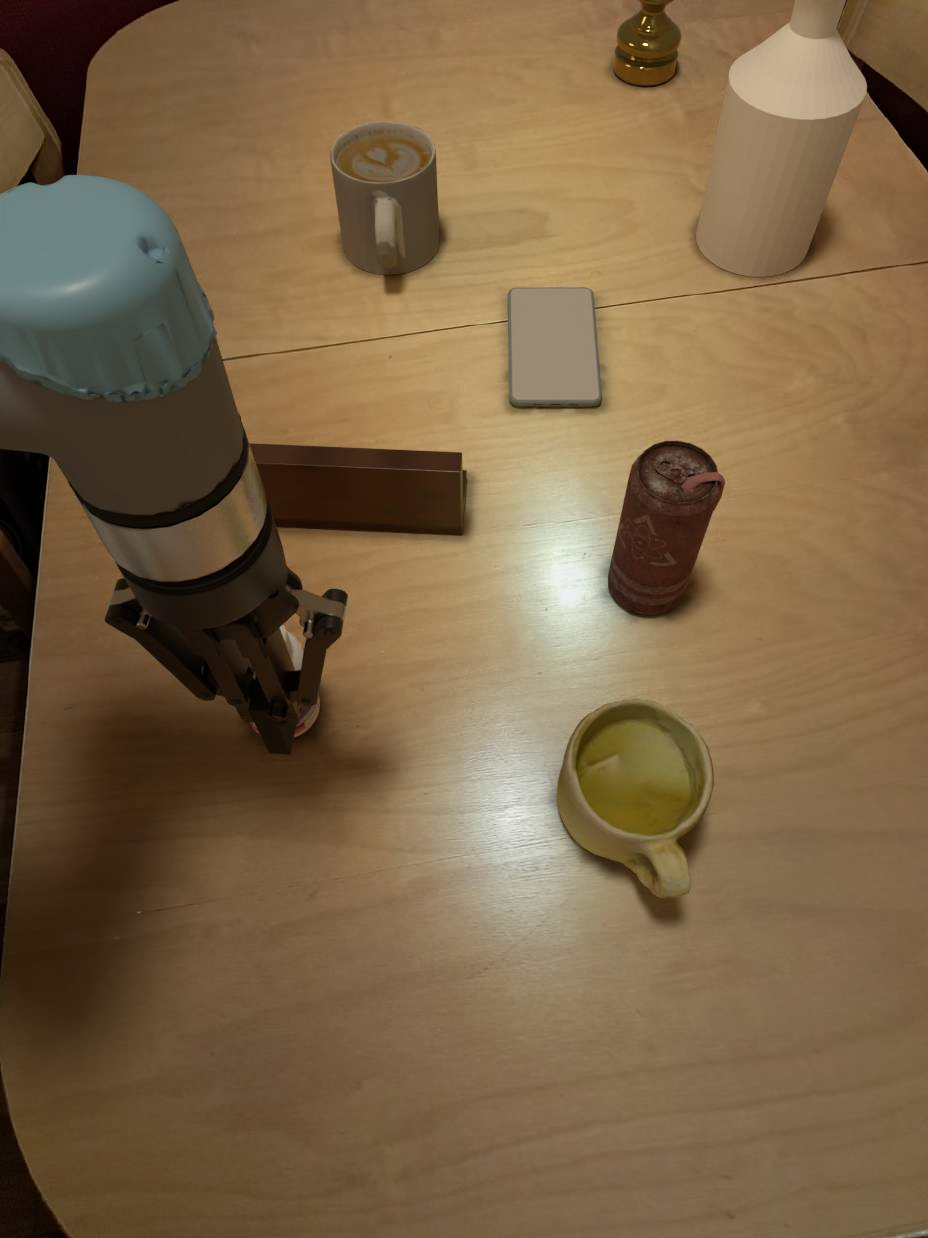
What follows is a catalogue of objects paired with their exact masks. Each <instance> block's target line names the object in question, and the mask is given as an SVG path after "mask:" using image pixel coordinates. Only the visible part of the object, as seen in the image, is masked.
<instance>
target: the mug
mask: <svg viewBox="0 0 928 1238" xmlns="http://www.w3.org/2000/svg"><path fill="white" fill-rule="evenodd" d="M567 742H568V743H567V745H566V747H565V751H564V756H563V759H562V765H561V768H560V772H559V775H558V778H557V783H556V784H557V786H556V800H557V801H556V802H557V808H558V811H559V815H560V817H561V820H562V822H563V824H564V826H565V828H566V829H567V831H568V833H569V834H570V836H571V838H573V839H574V841H575V842H576V843H577V844H578V845H580V846H581V847H582V848H584V849H585V850H587V851H588V852H590V853H592V854H593V855H596V856H599V857H602V858H605V859H607V860H611V861H614V862H618V863H621V864H623V866H625V868H628V869H629V870H630V871H631V872H632V873H634V874H635V875H636V876H637V879H638V880H639V882H640V883H642V885H643V886H644V887H645V888H647V889H649V891H650V892H651V894H653V895H654V896H655V897H656V898H659V899H667V898H668V899H669V898H671V899H672V898H674V899H675V898H678V897H681V896H685V895H687V894H690V892H691V889H692V875H691V872H690V864H689V860H688V858H687V854H686V852H685V850H684V849H683V848H682V846H681V845H680V844H679V841H680V840H681V838H683V837H684V836H686V834H687V833H689V832H690V831H691V830H692V829H693V828H695V827H696V825H697V824H698V823H699V822H700V821H701V820H702V818H703V816H704V815H705V812H706V811H707V808H708V806H709V803H710V801H711V799H712V794H713V790H714V785H715V777H714V776H715V775H714V764H713V759H712V756H711V753H710V750H709V746H708V744H707V743H706V741H705V740H704V738H703V737H702V735H701V734H700V732H699V731H698V729H697V728H696V727H695V726H694V725H693V724H692V723H690V722H688V721H687V720H685V719H684V718H682V717H681V716H679V714H677V713H676V712H675V711H674V710H673V709H672V708H670V707H668V706H666V705H664V704H661V703H659V702H657V701H654V700H648V699H641V698H632V699H622V700H618V701H614V702H608V703H605V704H603V705H601V706H600V707H598V708H596V709H595V710H593V711H592V712H590V713H588V714H586V716H584V717H583V718H582V719H581V720H580V721H579V722H578V724H577V726H576V727H575V729H574V730H573V732H572V734H571V735H570V737H569V739H568V741H567Z"/></svg>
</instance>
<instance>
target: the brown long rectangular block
mask: <svg viewBox="0 0 928 1238" xmlns="http://www.w3.org/2000/svg"><path fill="white" fill-rule="evenodd" d="M249 444H250V448H251V451H252V454H253V457H254V460H255V463H256V466H257V469H258V472H259V475H260V478H261V481H262V484H263V487H264V490H265V496H266V498H267V500H268V502H269V505H270V508H271V511H272V515H273V518H274V521H275V524H276V527H277V528H293V529H295V528H298V529H315V530H317V529H318V530H338V531H339V530H340V531H356V532H357V531H359V532H379V533H381V532H382V533H403V534H422V535H423V534H424V535H446V536H462V535H463V528H464V518H465V506H466V505H465V504H466V492H467V483H468V482H467V481H468V471H467V469H463V468H464V467H463V452H460V451H438V450H437V451H436V450H416V449H413V450H412V449H392V448H372V447H371V448H369V447H347V446H346V447H345V446H324V445H323V446H321V445H319V446H318V445H299V444H278V443H277V444H276V443H255V442H254V443H253V442H251V443H250V442H249Z"/></svg>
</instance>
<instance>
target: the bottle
mask: <svg viewBox="0 0 928 1238" xmlns="http://www.w3.org/2000/svg"><path fill="white" fill-rule="evenodd" d="M846 1H847V0H794V4H793V9H792V13H791V17H790V21H789V22H788V23H786V24H785V25H784V26H782V27H780V29H778V30H777V31H776V32H774V33H773V34H772V35H770V36H769V37H768V38H766V39H765V40H763V42H761V43H759V44H757V45H756V46H755V47H753V48H751V49H750V50H748V51H747V52H745V53H743V54H741V55H740V56H739V57H738V58H737V59H735V60H734V61H733V63H732V64H731V66H730V68H729V72H728V77H727V81H726V86H725V91H724V95H723V101H722V106H721V111H720V115H719V120H718V126H717V130H716V134H715V140H714V144H713V149H712V155H711V159H710V163H709V168H708V173H707V178H706V183H705V189H704V193H703V198H702V203H701V207H700V213H699V217H698V222H697V225H696V226H697V227H696V232H695V242H696V245H697V248H698V249H699V251H700V252H701V254H702V255H703V257H705V258H706V259H707V260H708V261H709V262H710V263H712V264H714V265H715V266H717V267H718V268H720V269H722V270H724V271H727V272H729V273H733V274H736V275H739V276H746V277H751V278H752V277H755V278H756V277H757V278H764V277H773V276H775V277H776V276H778V275H782V274H785V273H787V272H790V271H792V270H794V269H795V268H796V267H798V266H799V265H800V264H801V263H802V262H803V261H804V260H805V258H806V256H807V254H808V251H809V249H810V246H811V244H812V242H813V241H812V240H813V238H814V236H815V233H816V229H817V227H818V225H819V222H820V219H821V217H822V213H823V212H824V209H825V207H826V206H825V205H826V203H827V201H828V197H829V195H830V192H831V189H832V186H833V185H834V182H835V179H836V176H837V173H838V171H839V168H840V165H841V163H842V160H843V157H844V154H845V152H846V149H847V146H848V143H849V141H850V138H851V135H852V133H853V130H854V128H855V125H856V122H857V119H858V116H859V114H860V112H861V109H862V106H863V103H864V101H865V98H866V96H867V92H868V91H867V90H868V85H867V81H866V78H865V76H864V75H863V73H862V71H861V70H860V68H859V67H858V65H857V63H856V62H855V61H854V59H853V58H852V56H851V54H850V52H849V51H848V48H847V47H846V44H845V42H844V40H843V38H842V37H841V34H840V33H839V31H838V29H837V28H838V26H839V24H840V23H839V22H840V19H841V18H842V17H841V16H842V13H843V11H844V8H845V5H846Z"/></svg>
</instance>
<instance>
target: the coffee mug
mask: <svg viewBox="0 0 928 1238" xmlns="http://www.w3.org/2000/svg"><path fill="white" fill-rule="evenodd" d="M435 145H436V144H435V142H434V140H433V139H432V137H431V136H430V135H429V134H428V133H427V132H426V131H424V130H423V129H421V128H419V127H417V126H416V125H413V124H411V123H406V122H402V121H396V120H375V121H369V122H365V123H362V124H359V125H356V126H353V127H351V128H349V129H347V130H346V131H344V132H343V133H341V134H340V135H339V136H338V137H337V138H336V139H335V141H334V142H333V143H332V145H331V148H330V153H329V158H330V159H329V160H330V166H331V174H332V181H333V188H334V195H335V202H336V209H337V215H338V223H339V228H340V229H339V230H340V236H341V243H342V249H343V253H344V255H345V257H346V259H347V260H348V261H349V262H350V263H351V265H352V264H353V266H355V267H357V268H358V269H360V270H362V271H365V272H367V273H371V274H376V275H383V276H384V275H385V276H392V275H393V276H394V275H401V274H406V273H410V272H413V271H416V270H418V269H420V268H422V267H423V266H425V265H427V264H428V263H429V262H431V260H432V259H433V258H434V257H435V256H436V255H437V252H438V250H439V248H440V243H441V242H440V241H441V240H440V219H439V194H438V170H437V169H438V168H437V150H436V146H435Z"/></svg>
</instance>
